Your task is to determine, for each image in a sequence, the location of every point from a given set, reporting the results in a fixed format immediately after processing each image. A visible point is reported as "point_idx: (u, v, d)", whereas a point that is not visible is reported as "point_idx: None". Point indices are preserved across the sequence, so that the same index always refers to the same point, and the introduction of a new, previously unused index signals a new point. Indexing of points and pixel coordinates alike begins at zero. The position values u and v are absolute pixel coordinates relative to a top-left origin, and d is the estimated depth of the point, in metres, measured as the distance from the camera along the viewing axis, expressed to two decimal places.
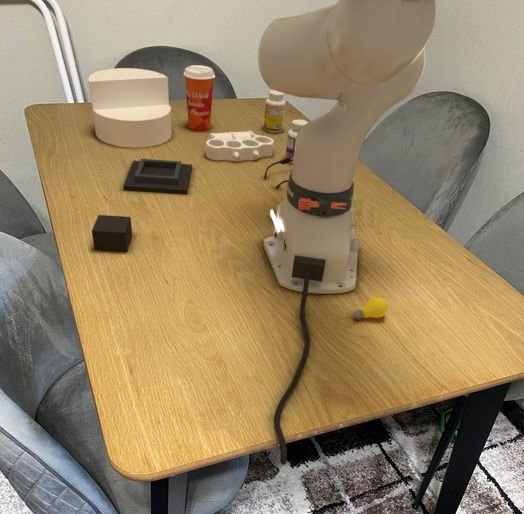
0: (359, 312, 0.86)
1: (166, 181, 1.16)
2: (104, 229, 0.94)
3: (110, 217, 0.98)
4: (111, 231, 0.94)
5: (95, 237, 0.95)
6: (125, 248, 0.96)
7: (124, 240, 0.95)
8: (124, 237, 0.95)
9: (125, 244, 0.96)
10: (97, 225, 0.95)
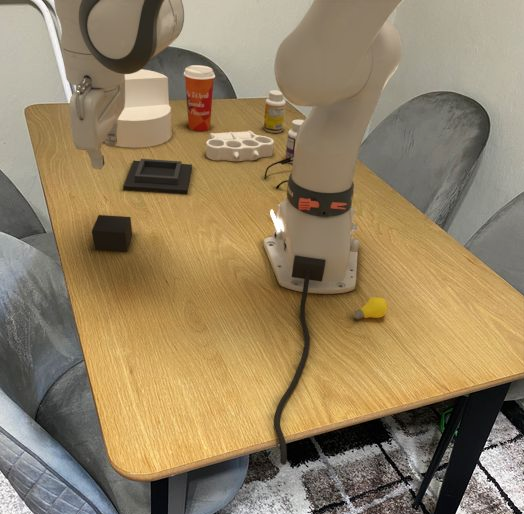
0: (359, 312, 0.86)
1: (166, 181, 1.16)
2: (104, 229, 0.94)
3: (110, 217, 0.98)
4: (111, 231, 0.94)
5: (95, 237, 0.95)
6: (125, 248, 0.96)
7: (124, 240, 0.95)
8: (124, 237, 0.95)
9: (125, 244, 0.96)
10: (97, 225, 0.95)
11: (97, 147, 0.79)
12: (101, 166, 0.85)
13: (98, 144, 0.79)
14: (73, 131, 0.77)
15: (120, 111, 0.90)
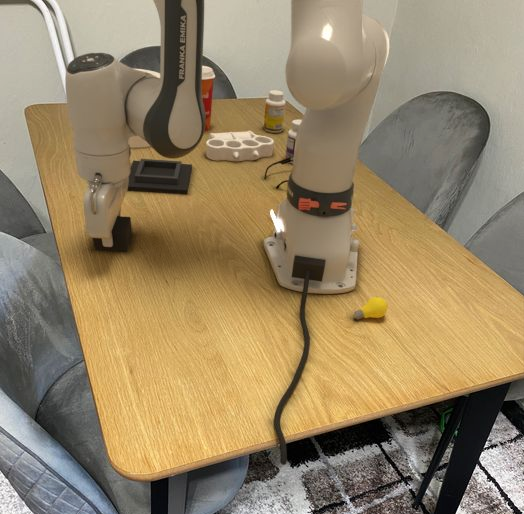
0: (359, 312, 0.86)
1: (166, 181, 1.16)
2: None
3: None
4: (111, 231, 0.94)
5: None
6: (125, 248, 0.96)
7: (124, 240, 0.95)
8: (124, 237, 0.95)
9: (125, 244, 0.96)
10: None
11: (108, 235, 0.87)
12: (111, 244, 0.94)
13: (109, 232, 0.87)
14: (87, 223, 0.85)
15: (125, 193, 0.99)
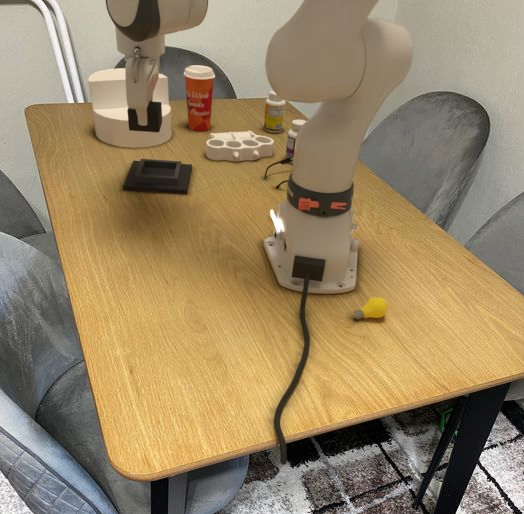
0: (359, 312, 0.86)
1: (166, 181, 1.16)
2: None
3: None
4: None
5: (130, 117, 1.03)
6: (157, 129, 1.05)
7: (157, 120, 1.04)
8: (157, 117, 1.03)
9: (157, 124, 1.04)
10: None
11: (146, 106, 0.96)
12: (146, 123, 1.03)
13: (147, 103, 0.96)
14: (127, 92, 0.94)
15: (156, 80, 1.07)
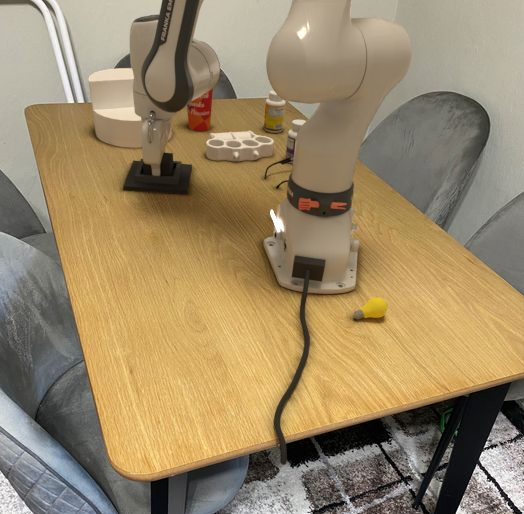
0: (359, 312, 0.86)
1: (166, 181, 1.16)
2: None
3: None
4: None
5: (145, 167, 1.16)
6: None
7: (169, 170, 1.16)
8: (169, 167, 1.16)
9: (169, 174, 1.17)
10: None
11: (160, 162, 1.09)
12: (159, 174, 1.16)
13: (160, 160, 1.09)
14: (143, 151, 1.07)
15: (168, 134, 1.20)
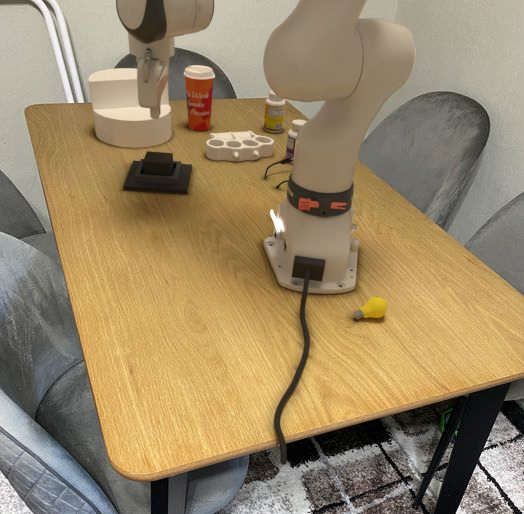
0: (359, 312, 0.86)
1: (166, 181, 1.16)
2: (152, 160, 1.16)
3: (156, 152, 1.19)
4: (158, 162, 1.15)
5: (145, 167, 1.16)
6: None
7: (169, 170, 1.16)
8: (169, 167, 1.16)
9: (169, 174, 1.17)
10: (146, 157, 1.17)
11: (156, 105, 1.01)
12: (158, 116, 1.10)
13: (157, 102, 1.01)
14: (139, 92, 0.99)
15: (166, 81, 1.12)
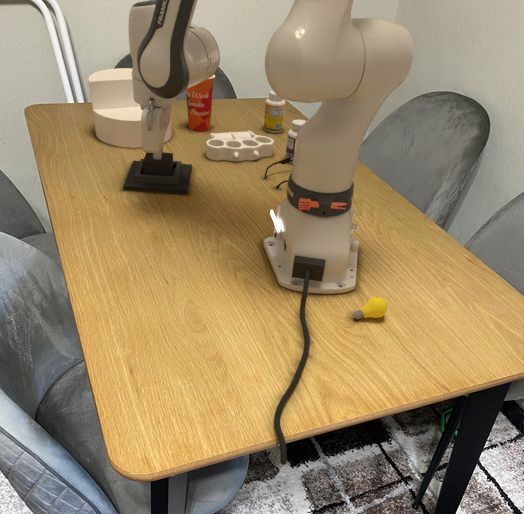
0: (359, 312, 0.86)
1: (166, 181, 1.16)
2: (152, 160, 1.16)
3: None
4: (158, 162, 1.15)
5: (145, 167, 1.16)
6: None
7: (169, 170, 1.16)
8: (169, 167, 1.16)
9: (169, 174, 1.17)
10: (146, 157, 1.17)
11: (159, 150, 1.07)
12: (160, 157, 1.16)
13: (160, 148, 1.07)
14: (143, 139, 1.05)
15: (168, 123, 1.18)
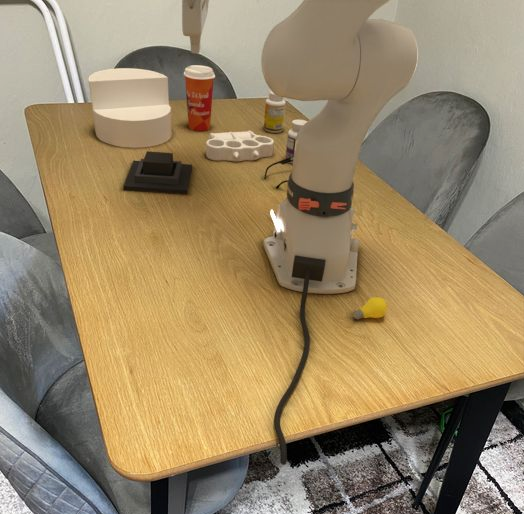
0: (359, 312, 0.86)
1: (166, 181, 1.16)
2: (152, 160, 1.16)
3: (156, 152, 1.19)
4: (158, 162, 1.15)
5: (145, 167, 1.16)
6: None
7: (169, 170, 1.16)
8: (169, 167, 1.16)
9: (169, 174, 1.17)
10: (146, 157, 1.17)
11: (200, 33, 1.00)
12: (198, 51, 1.09)
13: (201, 31, 1.00)
14: (184, 18, 0.98)
15: None
